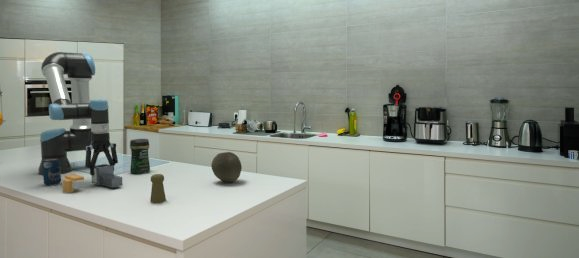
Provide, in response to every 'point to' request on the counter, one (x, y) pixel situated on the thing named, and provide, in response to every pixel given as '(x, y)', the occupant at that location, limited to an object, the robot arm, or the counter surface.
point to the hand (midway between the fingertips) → (102, 180)
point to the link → (107, 176)
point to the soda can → (51, 172)
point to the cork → (157, 189)
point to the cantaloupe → (226, 166)
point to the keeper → (70, 182)
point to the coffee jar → (139, 156)
